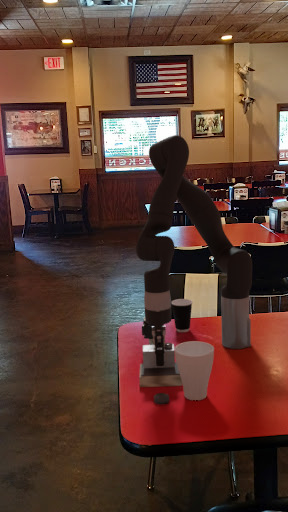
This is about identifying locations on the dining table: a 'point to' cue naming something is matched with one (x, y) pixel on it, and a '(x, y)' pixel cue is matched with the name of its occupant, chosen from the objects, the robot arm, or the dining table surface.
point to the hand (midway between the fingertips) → (160, 361)
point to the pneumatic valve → (147, 331)
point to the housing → (150, 356)
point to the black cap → (161, 398)
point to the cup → (194, 367)
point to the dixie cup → (182, 314)
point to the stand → (159, 376)
